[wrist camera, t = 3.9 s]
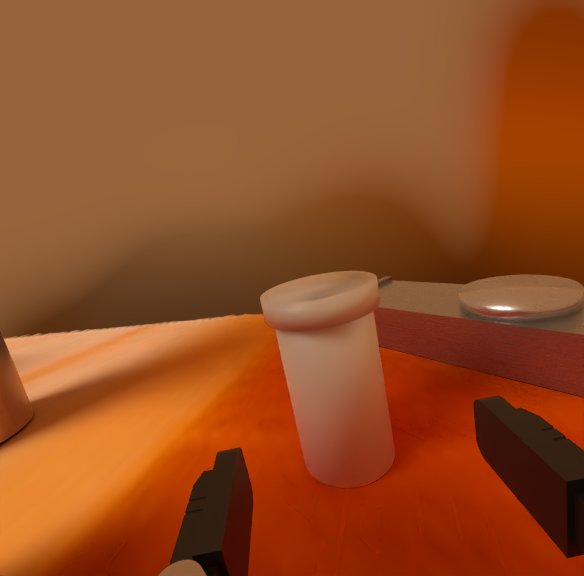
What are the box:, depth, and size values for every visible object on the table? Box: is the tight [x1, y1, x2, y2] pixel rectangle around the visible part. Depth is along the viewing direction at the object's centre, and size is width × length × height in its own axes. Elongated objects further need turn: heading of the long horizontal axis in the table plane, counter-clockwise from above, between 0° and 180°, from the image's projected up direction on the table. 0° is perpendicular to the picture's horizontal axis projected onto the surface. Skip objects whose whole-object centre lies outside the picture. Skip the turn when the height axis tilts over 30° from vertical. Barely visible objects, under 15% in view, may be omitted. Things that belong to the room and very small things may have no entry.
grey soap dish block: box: [374, 275, 584, 397], centre depth 30 cm, size 20×8×5 cm, turn 38°
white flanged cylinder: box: [260, 271, 395, 488], centre depth 18 cm, size 6×6×10 cm
